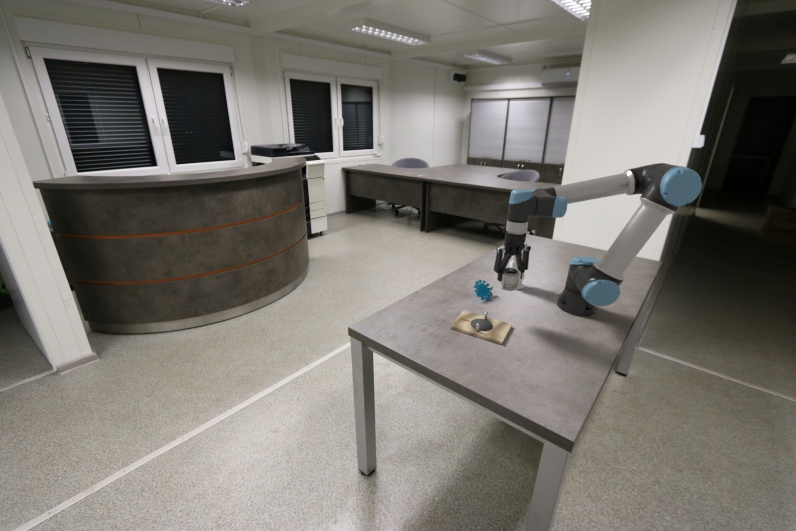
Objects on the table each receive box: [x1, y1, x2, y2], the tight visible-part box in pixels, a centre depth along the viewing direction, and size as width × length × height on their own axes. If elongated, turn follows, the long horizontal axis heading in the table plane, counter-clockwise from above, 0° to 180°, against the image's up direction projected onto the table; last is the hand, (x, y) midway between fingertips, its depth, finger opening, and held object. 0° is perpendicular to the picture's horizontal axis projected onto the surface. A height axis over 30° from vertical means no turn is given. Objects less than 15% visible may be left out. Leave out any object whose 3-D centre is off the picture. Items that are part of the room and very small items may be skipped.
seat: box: [471, 319, 493, 331], centre depth 136 cm, size 8×8×1 cm
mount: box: [450, 310, 513, 345], centre depth 136 cm, size 20×14×1 cm
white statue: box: [508, 240, 528, 291], centre depth 169 cm, size 12×12×22 cm
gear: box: [473, 279, 494, 302], centre depth 160 cm, size 11×6×10 cm
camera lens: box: [503, 267, 519, 292], centre depth 138 cm, size 6×6×8 cm
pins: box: [476, 311, 489, 332], centre depth 135 cm, size 1×11×3 cm, turn 150°
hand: (508, 287), depth 139 cm, fingers closed on camera lens, 6 cm apart
